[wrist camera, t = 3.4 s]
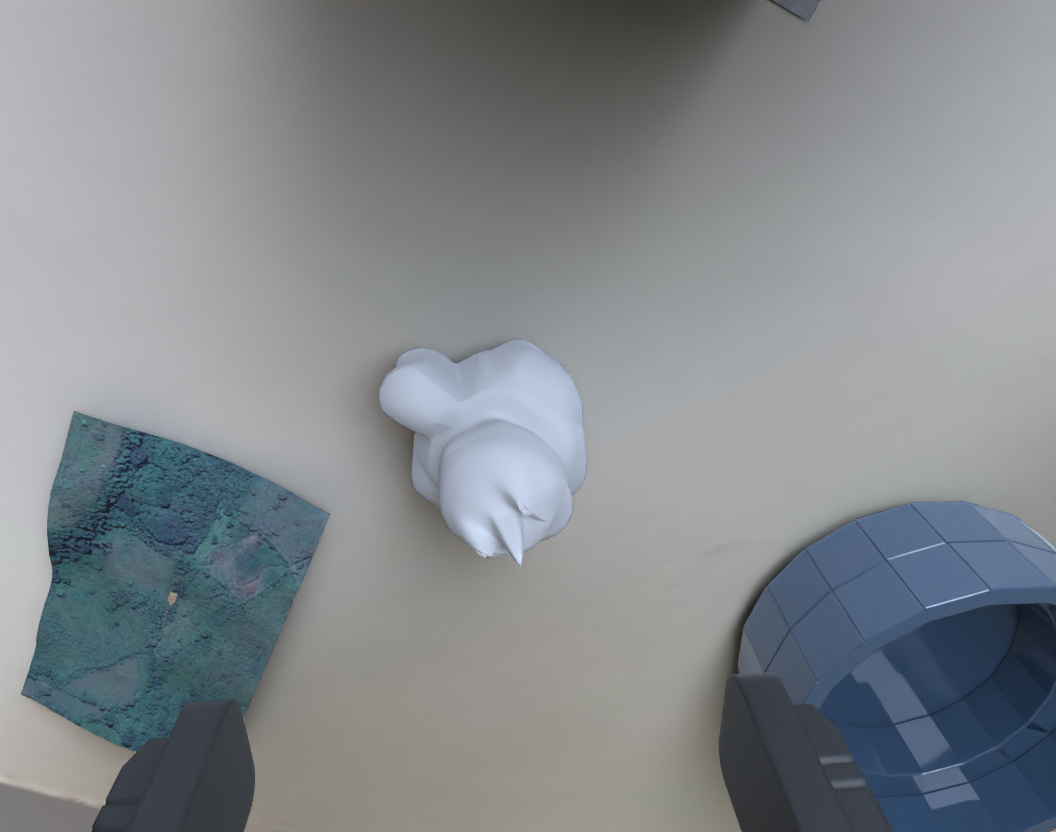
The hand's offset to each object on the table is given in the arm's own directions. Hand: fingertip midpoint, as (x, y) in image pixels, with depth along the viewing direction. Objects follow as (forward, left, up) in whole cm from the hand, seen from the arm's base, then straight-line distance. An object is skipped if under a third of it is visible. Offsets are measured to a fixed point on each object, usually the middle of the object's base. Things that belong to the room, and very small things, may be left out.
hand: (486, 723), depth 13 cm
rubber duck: (0, 0, -13) cm, 13 cm away
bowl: (+10, +15, -13) cm, 22 cm away
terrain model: (+7, -11, -13) cm, 18 cm away
